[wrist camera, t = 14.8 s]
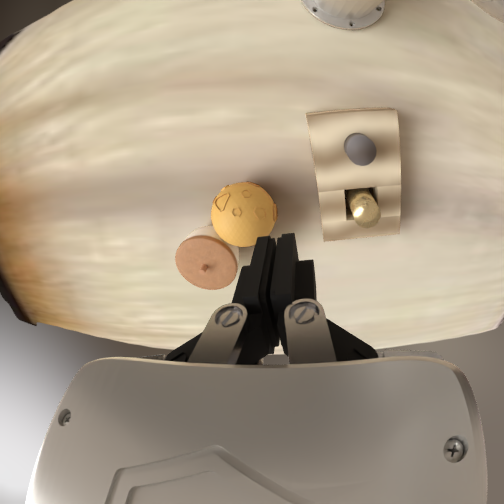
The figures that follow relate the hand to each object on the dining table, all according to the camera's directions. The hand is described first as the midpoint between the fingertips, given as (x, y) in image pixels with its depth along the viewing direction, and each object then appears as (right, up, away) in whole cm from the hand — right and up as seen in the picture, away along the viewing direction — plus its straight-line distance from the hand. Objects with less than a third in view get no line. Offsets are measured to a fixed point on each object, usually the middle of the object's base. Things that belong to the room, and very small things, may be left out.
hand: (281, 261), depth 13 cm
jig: (+15, +13, +28) cm, 34 cm away
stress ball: (-2, +9, +34) cm, 35 cm away
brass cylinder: (+16, +10, +30) cm, 35 cm away
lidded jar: (-8, +3, +39) cm, 40 cm away
